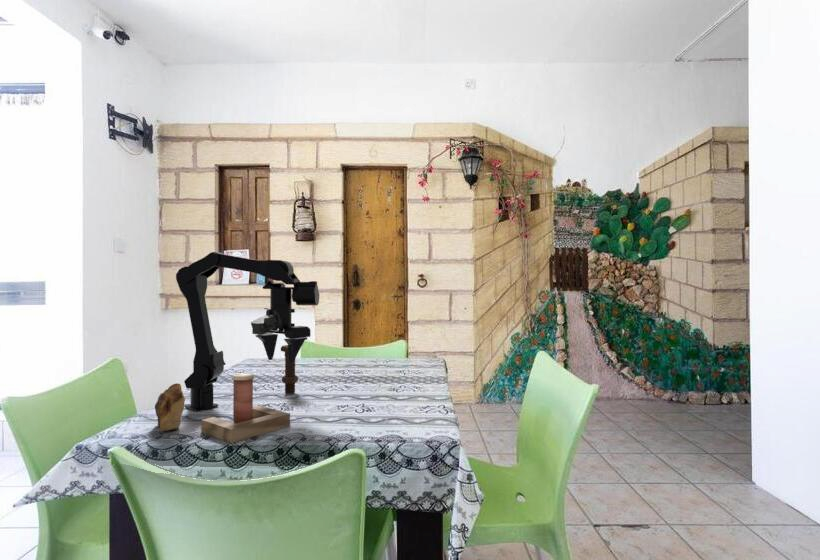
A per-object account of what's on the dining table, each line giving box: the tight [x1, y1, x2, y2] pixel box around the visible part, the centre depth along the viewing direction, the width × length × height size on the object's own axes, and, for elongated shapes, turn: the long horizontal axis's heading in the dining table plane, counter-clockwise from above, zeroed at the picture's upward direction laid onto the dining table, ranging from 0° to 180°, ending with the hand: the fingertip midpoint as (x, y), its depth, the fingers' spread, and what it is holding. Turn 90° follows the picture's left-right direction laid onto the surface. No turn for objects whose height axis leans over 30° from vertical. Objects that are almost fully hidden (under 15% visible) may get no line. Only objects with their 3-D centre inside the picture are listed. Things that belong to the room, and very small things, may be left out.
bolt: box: [280, 344, 299, 395], centre depth 150 cm, size 6×5×15 cm
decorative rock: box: [154, 383, 186, 432], centre depth 114 cm, size 12×6×11 cm, turn 32°
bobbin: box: [231, 373, 255, 424], centre depth 115 cm, size 6×6×12 cm
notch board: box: [201, 405, 291, 444], centre depth 114 cm, size 12×16×3 cm
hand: (280, 361), depth 132 cm, fingers open, 9 cm apart
